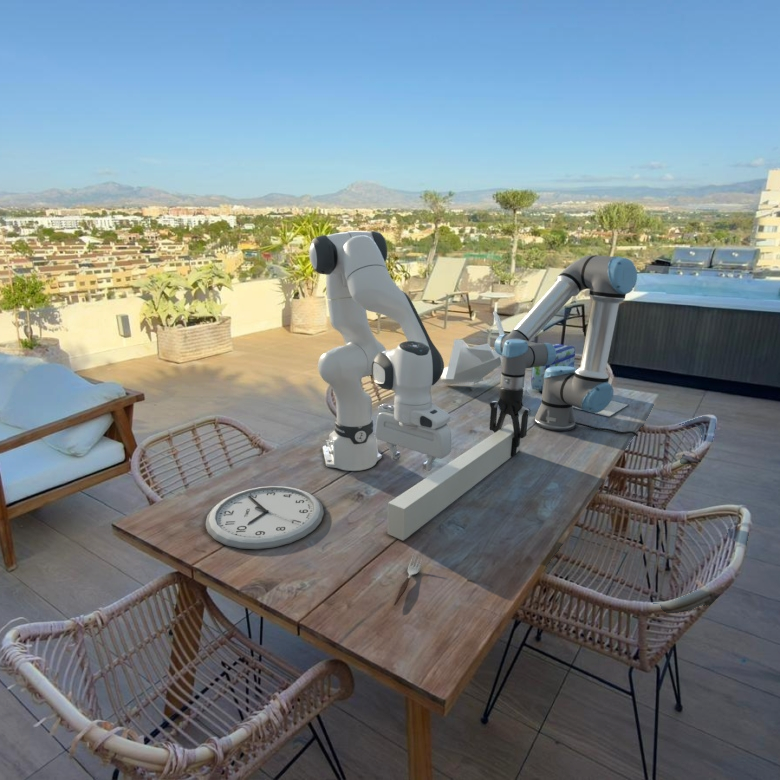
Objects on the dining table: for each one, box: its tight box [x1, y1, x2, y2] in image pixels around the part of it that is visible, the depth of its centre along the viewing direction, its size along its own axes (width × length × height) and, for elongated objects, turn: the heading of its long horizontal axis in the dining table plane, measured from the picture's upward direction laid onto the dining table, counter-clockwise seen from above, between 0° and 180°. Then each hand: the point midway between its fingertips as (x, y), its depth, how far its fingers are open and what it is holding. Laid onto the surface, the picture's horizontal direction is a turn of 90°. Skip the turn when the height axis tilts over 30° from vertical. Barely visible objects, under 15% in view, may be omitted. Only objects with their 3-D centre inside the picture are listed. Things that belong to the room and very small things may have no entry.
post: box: [387, 423, 521, 541], centre depth 154 cm, size 69×5×9 cm, turn 143°
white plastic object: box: [440, 310, 531, 397], centre depth 245 cm, size 37×45×31 cm
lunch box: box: [530, 343, 576, 392], centre depth 248 cm, size 26×11×21 cm, turn 134°
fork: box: [393, 553, 424, 606], centre depth 112 cm, size 3×16×2 cm, turn 160°
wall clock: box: [205, 485, 325, 550], centre depth 137 cm, size 30×2×30 cm
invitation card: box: [573, 400, 629, 418], centre depth 226 cm, size 21×1×15 cm
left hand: (410, 464), depth 128 cm, fingers open, 8 cm apart
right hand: (505, 452), depth 177 cm, fingers closed on post, 5 cm apart
